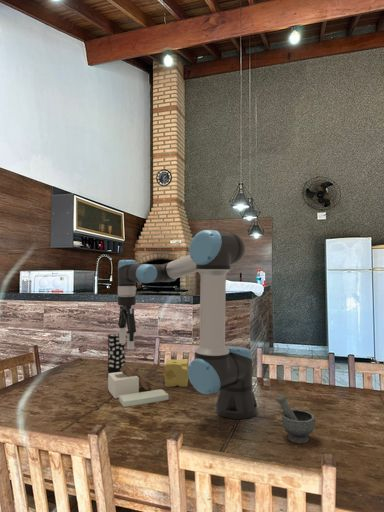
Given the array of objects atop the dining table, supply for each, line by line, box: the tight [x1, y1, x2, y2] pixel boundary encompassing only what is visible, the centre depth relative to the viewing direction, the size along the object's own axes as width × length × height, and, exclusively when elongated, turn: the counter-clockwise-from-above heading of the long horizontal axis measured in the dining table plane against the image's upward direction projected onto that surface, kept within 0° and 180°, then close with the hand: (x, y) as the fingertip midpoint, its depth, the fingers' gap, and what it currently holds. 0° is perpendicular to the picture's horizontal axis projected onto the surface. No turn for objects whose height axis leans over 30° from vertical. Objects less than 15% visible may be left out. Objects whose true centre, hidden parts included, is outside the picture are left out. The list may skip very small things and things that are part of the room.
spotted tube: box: [107, 332, 126, 374], centre depth 178 cm, size 8×8×20 cm
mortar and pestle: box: [276, 395, 316, 444], centre depth 111 cm, size 11×9×12 cm
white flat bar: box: [118, 388, 169, 408], centre depth 144 cm, size 8×18×2 cm, turn 115°
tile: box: [120, 363, 152, 391], centre depth 157 cm, size 14×5×3 cm
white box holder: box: [107, 372, 140, 399], centre depth 154 cm, size 10×12×7 cm
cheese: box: [164, 358, 189, 388], centre depth 166 cm, size 10×11×10 cm
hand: (126, 345), depth 156 cm, fingers open, 13 cm apart
